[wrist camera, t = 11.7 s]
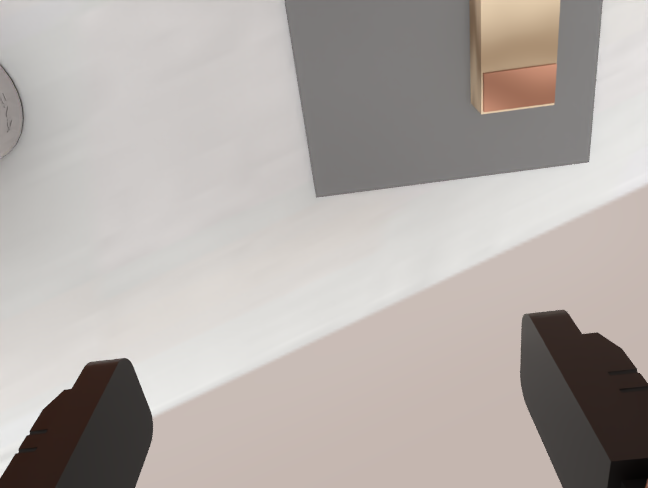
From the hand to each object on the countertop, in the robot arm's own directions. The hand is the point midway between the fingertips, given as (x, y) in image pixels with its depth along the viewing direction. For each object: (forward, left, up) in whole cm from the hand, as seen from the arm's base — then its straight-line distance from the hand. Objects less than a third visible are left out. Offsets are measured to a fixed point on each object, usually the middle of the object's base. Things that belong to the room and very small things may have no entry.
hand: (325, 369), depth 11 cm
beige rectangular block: (+12, +1, -30) cm, 32 cm away
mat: (+8, -1, -30) cm, 31 cm away
